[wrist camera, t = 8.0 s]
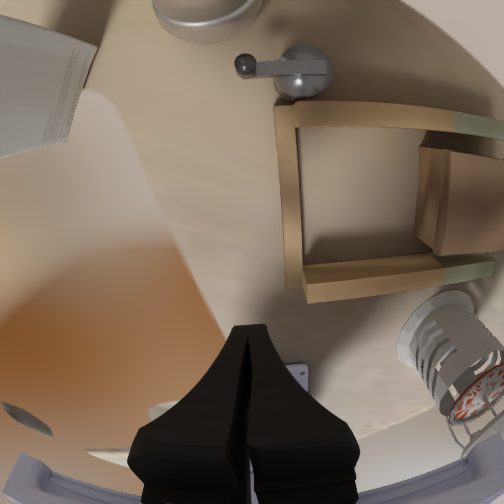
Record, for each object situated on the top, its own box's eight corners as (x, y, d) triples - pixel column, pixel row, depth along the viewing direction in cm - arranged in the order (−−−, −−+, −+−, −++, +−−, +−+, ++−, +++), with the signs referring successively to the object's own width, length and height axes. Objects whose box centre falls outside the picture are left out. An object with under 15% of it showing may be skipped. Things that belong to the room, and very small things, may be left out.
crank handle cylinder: (320, 101, 18) (347, 89, 12) (242, 106, 18) (237, 93, 12) (315, 61, 17) (340, 34, 11) (238, 65, 17) (231, 36, 11)
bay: (474, 262, 22) (492, 276, 19) (286, 284, 23) (290, 305, 20) (484, 120, 17) (506, 122, 15) (273, 107, 18) (276, 102, 15)
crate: (473, 233, 21) (503, 252, 17) (411, 234, 22) (439, 256, 17) (481, 153, 19) (515, 161, 15) (417, 144, 19) (450, 150, 15)
